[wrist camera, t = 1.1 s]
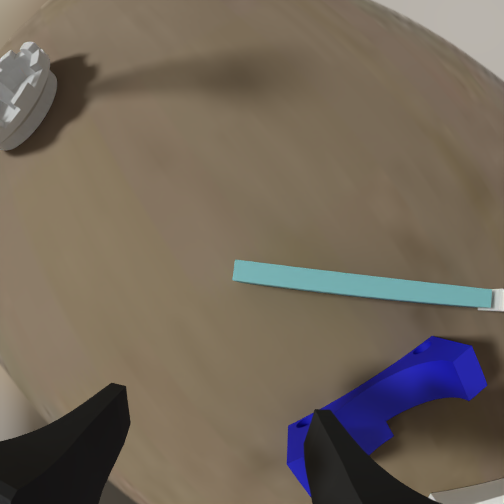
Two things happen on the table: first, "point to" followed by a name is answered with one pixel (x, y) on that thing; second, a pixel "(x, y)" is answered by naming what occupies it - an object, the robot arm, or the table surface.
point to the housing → (490, 493)
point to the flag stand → (24, 93)
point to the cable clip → (395, 396)
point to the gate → (359, 285)
